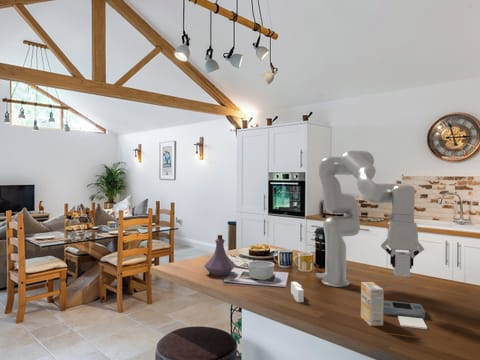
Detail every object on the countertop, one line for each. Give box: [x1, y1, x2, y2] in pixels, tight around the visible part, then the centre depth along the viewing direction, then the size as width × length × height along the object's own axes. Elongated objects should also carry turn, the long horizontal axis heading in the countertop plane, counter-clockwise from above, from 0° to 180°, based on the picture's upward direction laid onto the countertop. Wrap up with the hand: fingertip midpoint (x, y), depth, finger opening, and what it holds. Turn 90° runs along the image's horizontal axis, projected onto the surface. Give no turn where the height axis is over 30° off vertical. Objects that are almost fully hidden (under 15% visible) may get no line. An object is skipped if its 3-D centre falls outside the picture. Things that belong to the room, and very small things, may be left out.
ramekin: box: [247, 260, 275, 279], centre depth 181 cm, size 13×13×7 cm
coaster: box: [397, 316, 428, 330], centre depth 125 cm, size 8×8×1 cm
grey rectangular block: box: [392, 250, 411, 278], centre depth 134 cm, size 5×5×8 cm
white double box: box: [290, 281, 305, 303], centre depth 151 cm, size 15×11×6 cm
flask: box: [203, 234, 236, 277], centre depth 187 cm, size 16×16×20 cm
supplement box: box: [360, 281, 385, 327], centre depth 126 cm, size 8×5×13 cm, turn 5°
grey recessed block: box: [383, 300, 426, 320], centre depth 134 cm, size 14×8×3 cm, turn 73°
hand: (401, 266), depth 134 cm, fingers closed on grey rectangular block, 5 cm apart
